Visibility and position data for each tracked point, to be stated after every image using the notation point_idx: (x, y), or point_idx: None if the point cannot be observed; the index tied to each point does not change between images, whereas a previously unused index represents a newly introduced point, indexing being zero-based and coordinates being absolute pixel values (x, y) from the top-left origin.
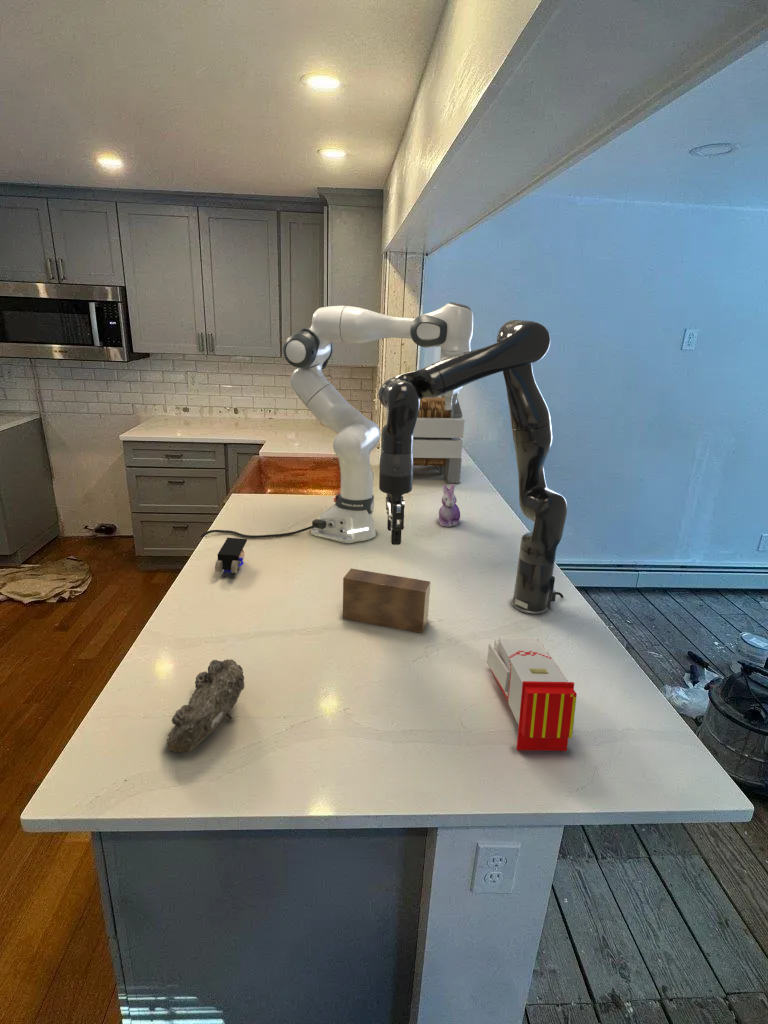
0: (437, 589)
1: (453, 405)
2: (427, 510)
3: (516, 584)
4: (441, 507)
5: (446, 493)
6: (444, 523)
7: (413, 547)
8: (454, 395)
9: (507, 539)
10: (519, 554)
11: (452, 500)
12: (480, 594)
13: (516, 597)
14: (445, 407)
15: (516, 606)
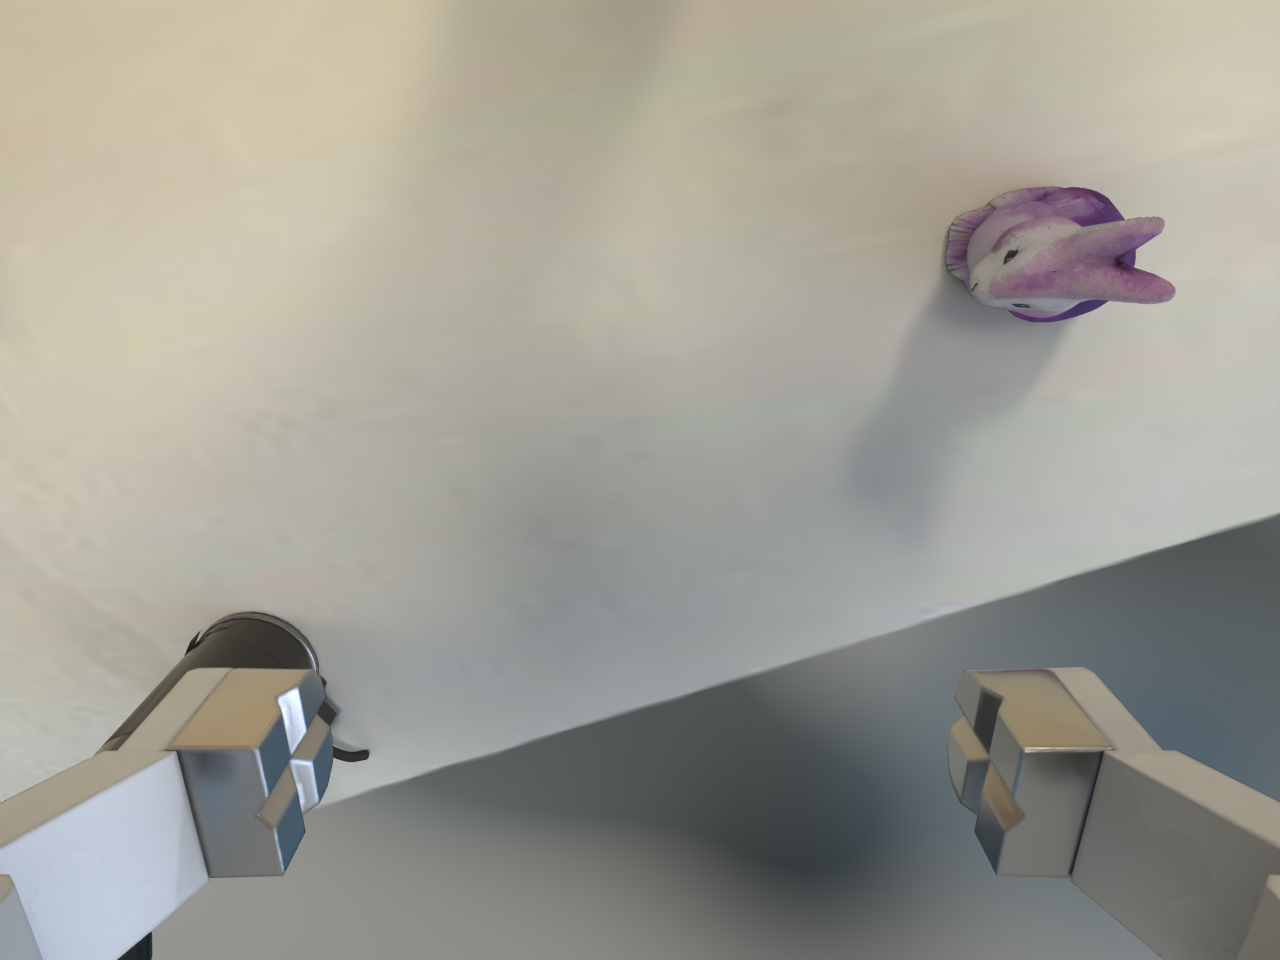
0: (209, 342)
1: (951, 726)
2: (1220, 79)
3: (182, 665)
4: (1028, 214)
5: (1056, 253)
6: (959, 240)
7: (599, 133)
8: (1218, 908)
9: (858, 557)
10: (125, 740)
11: (997, 300)
12: (258, 505)
13: (196, 644)
14: (172, 698)
15: (208, 630)
